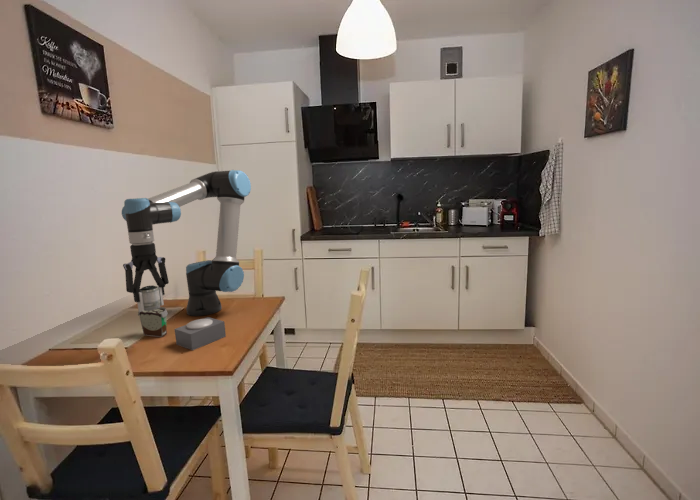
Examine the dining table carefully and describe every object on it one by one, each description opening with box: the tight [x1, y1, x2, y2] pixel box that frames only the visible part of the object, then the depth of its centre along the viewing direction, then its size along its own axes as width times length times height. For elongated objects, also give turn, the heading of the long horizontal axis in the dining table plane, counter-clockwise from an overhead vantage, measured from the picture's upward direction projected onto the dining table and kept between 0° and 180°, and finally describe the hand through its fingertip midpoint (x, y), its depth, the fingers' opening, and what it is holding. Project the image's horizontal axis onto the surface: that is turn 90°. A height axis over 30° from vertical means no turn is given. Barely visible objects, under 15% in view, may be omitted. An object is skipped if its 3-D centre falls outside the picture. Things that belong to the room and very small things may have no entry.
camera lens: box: [139, 285, 161, 311], centre depth 133 cm, size 6×6×8 cm
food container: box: [137, 306, 169, 338], centre depth 149 cm, size 12×6×10 cm, turn 71°
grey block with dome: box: [174, 316, 227, 351], centre depth 140 cm, size 11×14×7 cm
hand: (151, 307), depth 134 cm, fingers closed on camera lens, 6 cm apart
